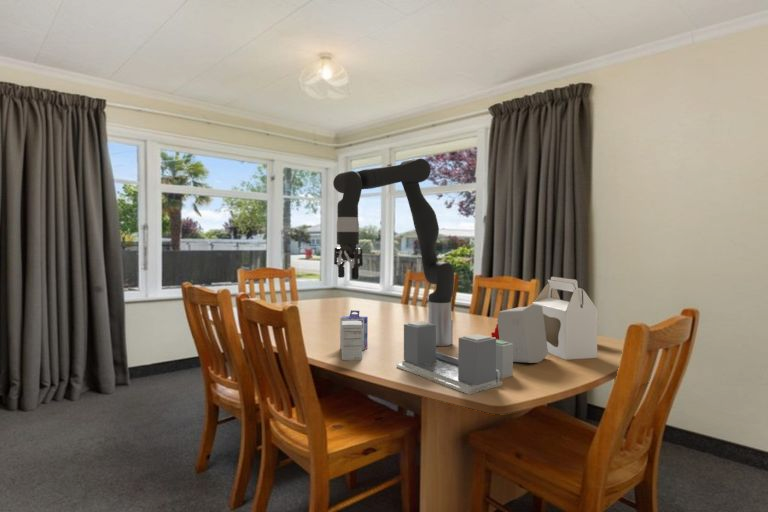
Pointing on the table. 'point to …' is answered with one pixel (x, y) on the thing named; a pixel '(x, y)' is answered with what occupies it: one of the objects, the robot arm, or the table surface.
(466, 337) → the block
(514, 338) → the electrical switch box
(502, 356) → the block
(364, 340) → the ink cartridge box
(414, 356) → the block
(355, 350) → the supplement box
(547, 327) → the gable box
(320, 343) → the table surface
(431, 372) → the rail base
